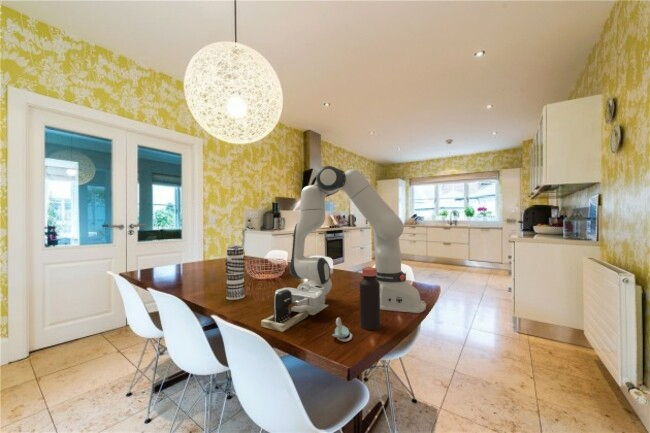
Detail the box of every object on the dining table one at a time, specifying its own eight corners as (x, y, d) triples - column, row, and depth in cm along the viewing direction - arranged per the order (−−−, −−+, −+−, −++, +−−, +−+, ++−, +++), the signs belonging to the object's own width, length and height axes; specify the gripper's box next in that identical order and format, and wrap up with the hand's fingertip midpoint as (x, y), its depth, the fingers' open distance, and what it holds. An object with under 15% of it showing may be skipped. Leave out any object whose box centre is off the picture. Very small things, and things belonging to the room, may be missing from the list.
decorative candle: (249, 294, 129) (248, 244, 130) (238, 300, 120) (238, 246, 121) (232, 293, 131) (232, 244, 132) (221, 299, 122) (221, 246, 123)
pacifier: (354, 334, 85) (336, 331, 86) (354, 315, 85) (336, 312, 86) (350, 344, 78) (330, 341, 79) (350, 324, 78) (331, 321, 79)
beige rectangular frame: (307, 316, 100) (307, 311, 100) (282, 331, 86) (282, 325, 86) (288, 312, 104) (288, 307, 104) (261, 326, 91) (261, 320, 91)
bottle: (364, 321, 95) (363, 266, 95) (382, 324, 91) (382, 267, 91) (357, 328, 89) (356, 269, 89) (376, 332, 85) (375, 271, 85)
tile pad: (328, 305, 112) (328, 305, 112) (313, 315, 101) (313, 314, 101) (304, 301, 117) (304, 301, 117) (288, 310, 107) (288, 309, 107)
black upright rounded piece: (281, 327, 90) (281, 294, 90) (273, 324, 92) (272, 292, 92) (293, 320, 96) (293, 289, 96) (285, 318, 98) (285, 288, 98)
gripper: (287, 282, 114) (265, 290, 102) (328, 288, 104) (309, 297, 92) (287, 296, 114) (265, 306, 101) (328, 303, 104) (309, 315, 91)
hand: (286, 302), depth 96 cm, fingers open, 8 cm apart
